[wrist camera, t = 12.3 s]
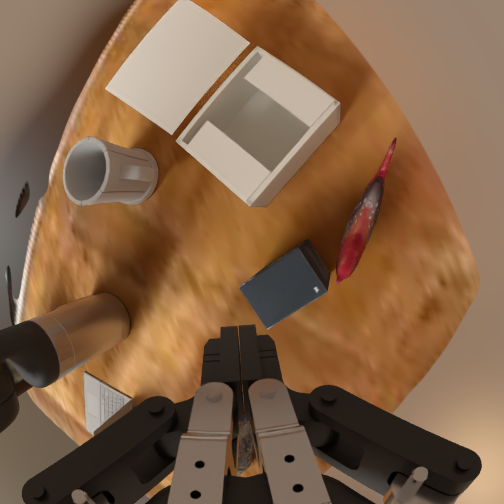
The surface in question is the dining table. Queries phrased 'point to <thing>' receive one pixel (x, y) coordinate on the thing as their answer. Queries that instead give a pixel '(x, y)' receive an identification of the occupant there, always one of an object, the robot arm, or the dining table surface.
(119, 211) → the dining table surface
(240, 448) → the mineral rock
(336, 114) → the carton
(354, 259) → the decorative bird figurine
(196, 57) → the flap
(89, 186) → the cup
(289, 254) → the box
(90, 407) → the laptop
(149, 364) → the dining table surface
